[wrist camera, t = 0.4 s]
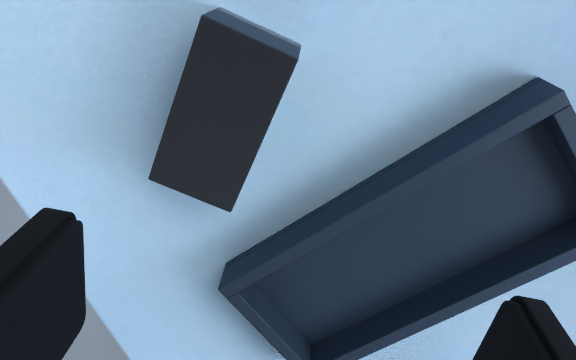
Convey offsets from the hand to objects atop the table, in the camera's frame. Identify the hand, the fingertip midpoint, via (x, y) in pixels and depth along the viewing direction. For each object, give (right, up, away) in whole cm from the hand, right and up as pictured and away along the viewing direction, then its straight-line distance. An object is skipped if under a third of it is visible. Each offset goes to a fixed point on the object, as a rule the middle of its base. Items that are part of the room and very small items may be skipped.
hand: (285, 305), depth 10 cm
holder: (+7, -1, +16) cm, 17 cm away
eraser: (-3, +7, +13) cm, 15 cm away
